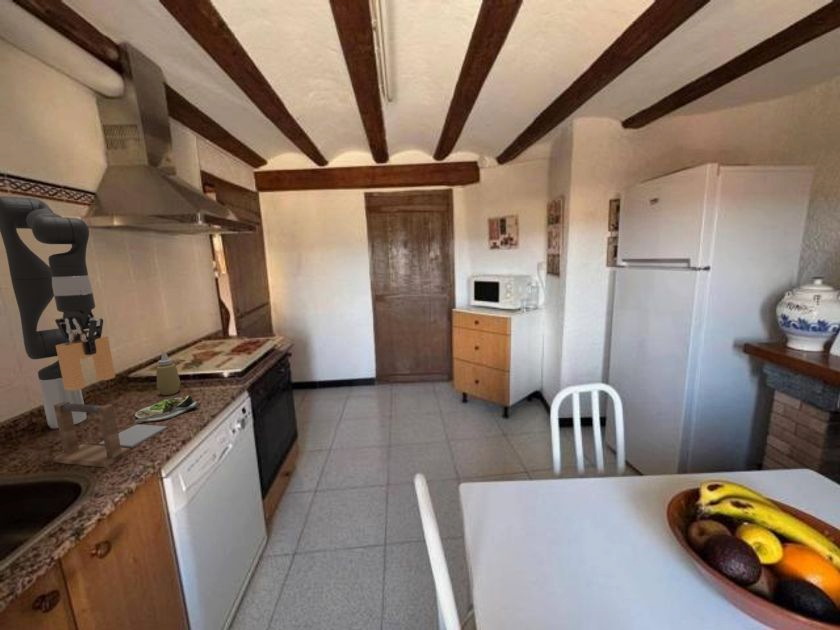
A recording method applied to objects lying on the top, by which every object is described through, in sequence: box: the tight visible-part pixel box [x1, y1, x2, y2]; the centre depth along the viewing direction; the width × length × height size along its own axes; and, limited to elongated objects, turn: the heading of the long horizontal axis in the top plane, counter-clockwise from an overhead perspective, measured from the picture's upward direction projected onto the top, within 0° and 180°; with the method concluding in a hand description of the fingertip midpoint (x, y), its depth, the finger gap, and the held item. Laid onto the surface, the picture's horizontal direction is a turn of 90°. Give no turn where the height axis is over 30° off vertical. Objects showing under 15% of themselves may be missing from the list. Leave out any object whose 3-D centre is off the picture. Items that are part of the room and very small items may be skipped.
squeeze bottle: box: [155, 351, 181, 396], centre depth 145 cm, size 8×8×18 cm
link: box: [55, 335, 116, 391], centre depth 98 cm, size 4×10×12 cm, turn 169°
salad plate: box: [134, 394, 199, 423], centre depth 127 cm, size 19×18×5 cm
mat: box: [98, 424, 168, 449], centre depth 111 cm, size 12×12×1 cm
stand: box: [54, 402, 132, 468], centre depth 98 cm, size 17×7×16 cm, turn 80°
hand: (85, 353), depth 97 cm, fingers closed on link, 3 cm apart
